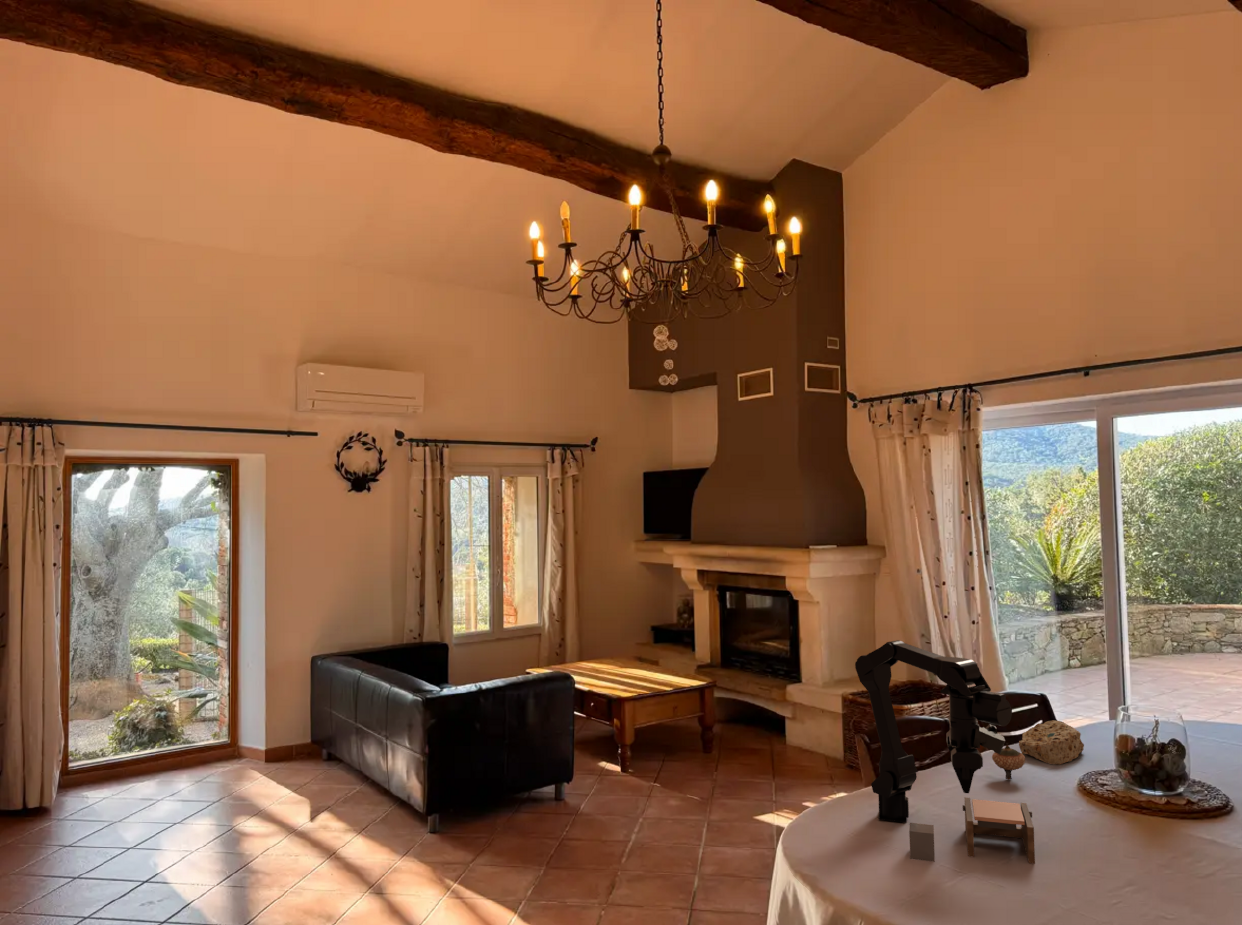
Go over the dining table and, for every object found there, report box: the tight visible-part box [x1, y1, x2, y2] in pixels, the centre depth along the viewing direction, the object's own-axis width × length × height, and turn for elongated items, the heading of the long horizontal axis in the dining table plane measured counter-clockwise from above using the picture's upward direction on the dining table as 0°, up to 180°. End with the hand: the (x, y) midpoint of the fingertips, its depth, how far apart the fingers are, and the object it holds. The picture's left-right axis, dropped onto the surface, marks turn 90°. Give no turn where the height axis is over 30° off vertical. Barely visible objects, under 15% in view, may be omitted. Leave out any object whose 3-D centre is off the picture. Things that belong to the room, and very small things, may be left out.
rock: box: [1018, 720, 1085, 766], centre depth 258 cm, size 21×14×10 cm
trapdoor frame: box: [962, 796, 1036, 865], centre depth 193 cm, size 14×15×8 cm
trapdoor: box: [971, 798, 1025, 830], centre depth 193 cm, size 10×11×5 cm
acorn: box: [991, 742, 1026, 781], centre depth 236 cm, size 8×8×10 cm
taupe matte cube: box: [908, 822, 936, 862], centre depth 189 cm, size 5×5×6 cm
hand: (964, 785), depth 195 cm, fingers open, 9 cm apart
